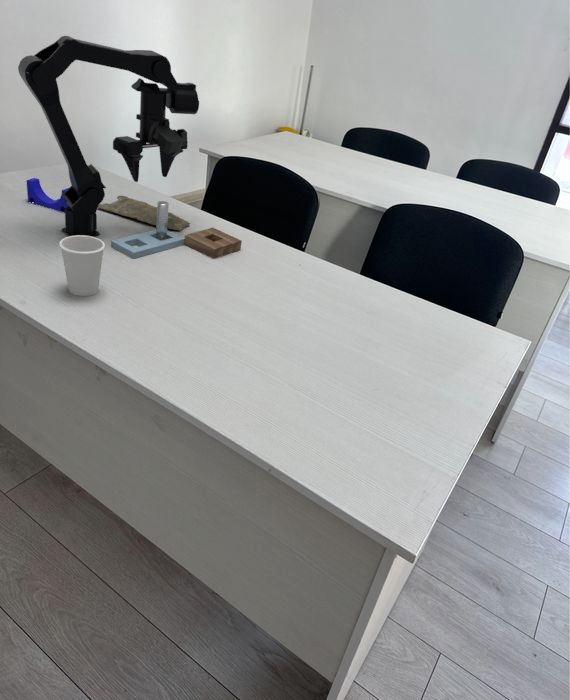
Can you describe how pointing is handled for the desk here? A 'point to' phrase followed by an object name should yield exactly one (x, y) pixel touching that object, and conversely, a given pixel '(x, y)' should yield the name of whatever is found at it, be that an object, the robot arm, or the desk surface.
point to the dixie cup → (82, 263)
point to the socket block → (212, 242)
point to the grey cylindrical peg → (162, 220)
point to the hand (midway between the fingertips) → (150, 179)
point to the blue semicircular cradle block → (44, 196)
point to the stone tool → (142, 212)
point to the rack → (146, 243)
